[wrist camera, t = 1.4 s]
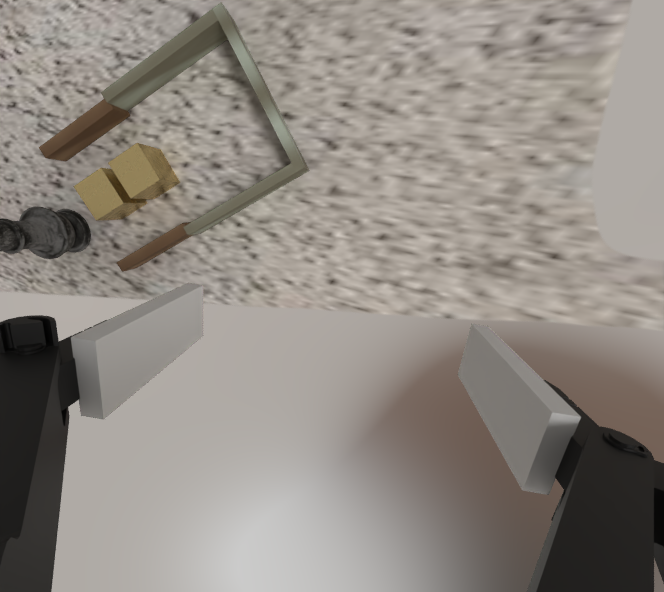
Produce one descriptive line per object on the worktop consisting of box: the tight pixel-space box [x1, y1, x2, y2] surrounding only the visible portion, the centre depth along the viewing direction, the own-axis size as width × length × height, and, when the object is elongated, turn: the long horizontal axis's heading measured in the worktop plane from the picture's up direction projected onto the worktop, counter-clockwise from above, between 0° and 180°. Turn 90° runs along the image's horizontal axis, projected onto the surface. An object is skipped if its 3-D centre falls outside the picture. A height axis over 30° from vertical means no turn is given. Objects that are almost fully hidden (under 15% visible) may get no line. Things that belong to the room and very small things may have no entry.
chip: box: [108, 143, 180, 199], centre depth 35 cm, size 4×4×4 cm
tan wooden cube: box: [74, 168, 147, 221], centre depth 36 cm, size 4×4×4 cm
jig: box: [39, 3, 309, 272], centre depth 35 cm, size 16×25×3 cm, turn 118°
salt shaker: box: [0, 207, 91, 259], centre depth 34 cm, size 6×6×12 cm
